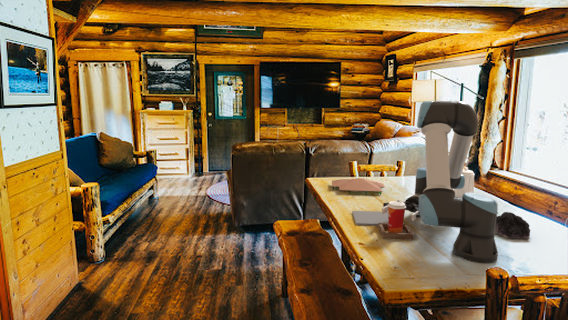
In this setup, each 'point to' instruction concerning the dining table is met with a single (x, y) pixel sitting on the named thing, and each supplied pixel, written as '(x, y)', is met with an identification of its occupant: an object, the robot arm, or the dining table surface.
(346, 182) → the house
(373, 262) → the dining table surface
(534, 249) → the dining table surface
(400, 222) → the paper cup
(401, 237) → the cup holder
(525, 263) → the dining table surface
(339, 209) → the dining table surface
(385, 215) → the slate tile
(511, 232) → the dark brown lumpy mound
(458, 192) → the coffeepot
